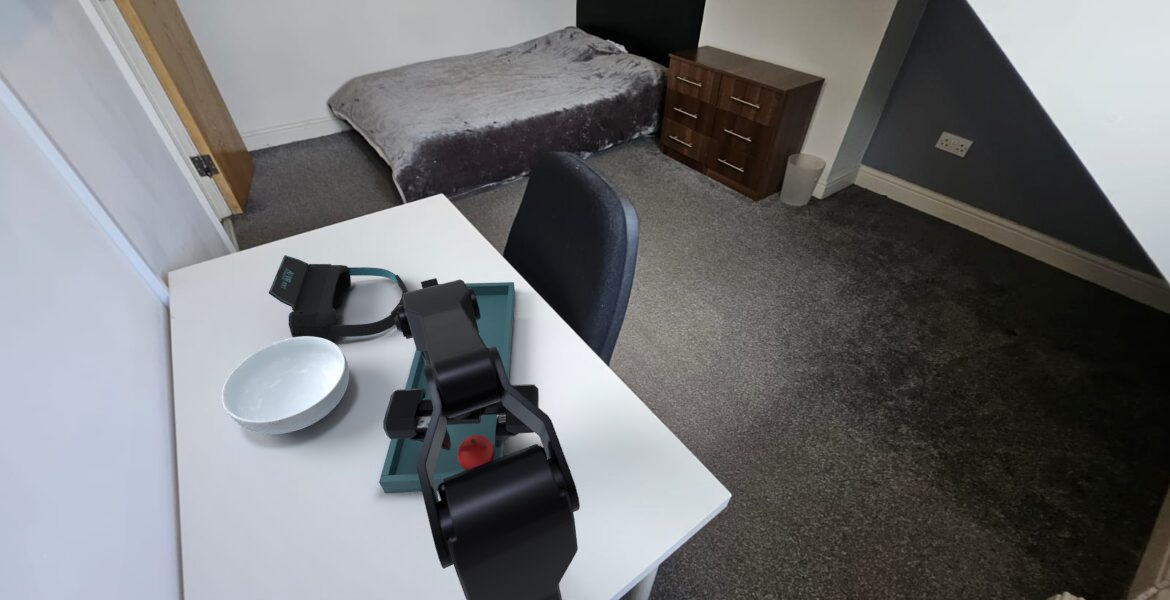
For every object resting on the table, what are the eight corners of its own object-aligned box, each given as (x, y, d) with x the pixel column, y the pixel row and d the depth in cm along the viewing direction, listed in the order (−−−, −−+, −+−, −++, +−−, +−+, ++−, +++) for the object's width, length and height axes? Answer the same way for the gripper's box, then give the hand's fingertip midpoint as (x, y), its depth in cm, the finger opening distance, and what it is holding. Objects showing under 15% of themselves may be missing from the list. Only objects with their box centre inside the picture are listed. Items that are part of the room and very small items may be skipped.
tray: (501, 487, 66) (498, 476, 64) (384, 493, 65) (378, 482, 63) (515, 293, 97) (514, 281, 95) (436, 295, 96) (434, 284, 94)
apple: (494, 477, 66) (489, 456, 63) (458, 479, 66) (451, 457, 62) (496, 446, 70) (492, 424, 66) (462, 447, 70) (456, 425, 66)
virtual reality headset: (298, 284, 96) (288, 243, 90) (412, 284, 103) (409, 245, 96) (275, 349, 83) (261, 306, 76) (408, 344, 89) (404, 303, 83)
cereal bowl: (218, 446, 70) (193, 418, 65) (278, 361, 82) (260, 333, 78) (331, 451, 69) (313, 424, 65) (374, 366, 82) (362, 337, 77)
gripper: (536, 322, 61) (541, 396, 72) (390, 327, 60) (417, 401, 71) (535, 391, 53) (541, 463, 63) (366, 398, 52) (400, 470, 62)
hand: (473, 445), depth 65 cm, fingers open, 6 cm apart
